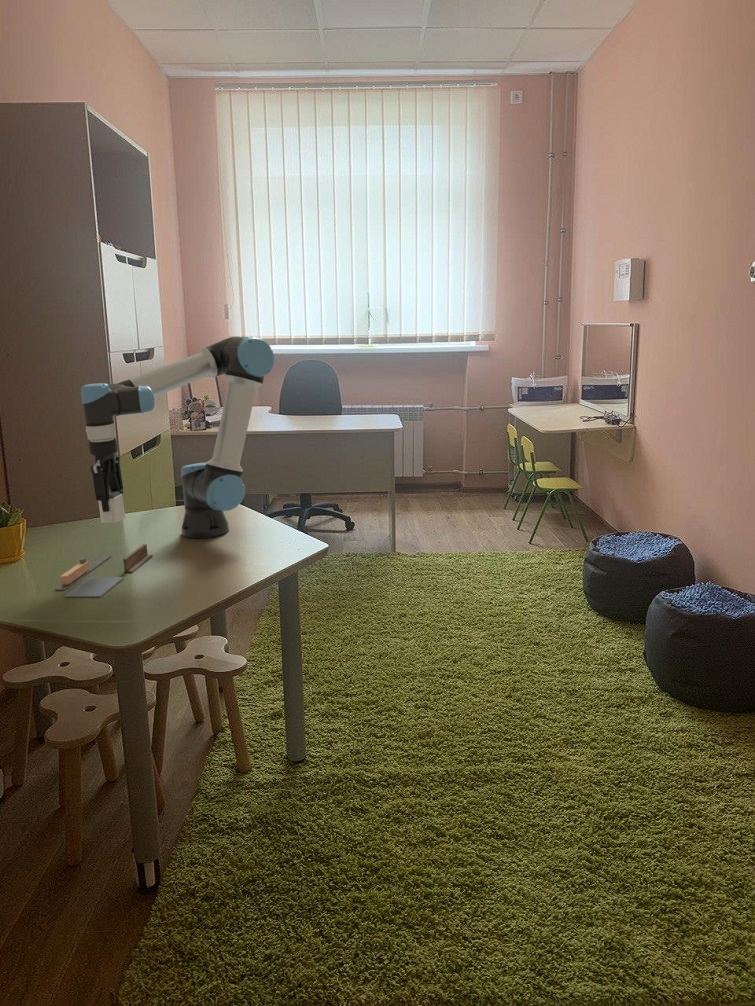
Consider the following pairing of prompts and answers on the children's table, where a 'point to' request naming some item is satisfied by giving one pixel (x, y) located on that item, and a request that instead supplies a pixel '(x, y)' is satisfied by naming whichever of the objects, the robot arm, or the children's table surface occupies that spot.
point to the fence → (136, 559)
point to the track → (91, 568)
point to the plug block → (114, 507)
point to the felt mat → (94, 587)
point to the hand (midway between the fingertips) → (113, 518)
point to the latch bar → (74, 572)
